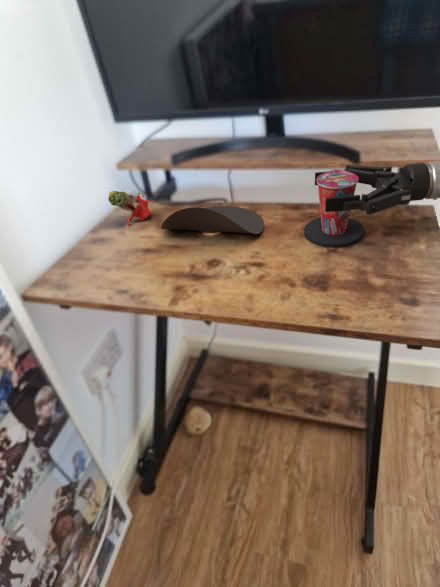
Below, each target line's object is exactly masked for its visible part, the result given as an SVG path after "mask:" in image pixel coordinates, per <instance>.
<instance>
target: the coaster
mask: <svg viewBox="0 0 440 587" xmlns="http://www.w3.org/2000/svg"><path fill="white" fill-rule="evenodd" d="M364 232H365V229H364V226H363V225H362V223H360V222H359V221H358V220H356V219H354V218H351V217H349V219H348V223H347V228H346V231H345V232H344V233H343V234H341V235H328V234H325V233H324V232H323V230H322V221H321V216H320V217H317V218H314V219H311V220H310V221H308V222H307V223H306V224H305V226H304V228H303V235H304V237H305V239H306V240H307V241H309V242H310V243H311V244H314V245H317V246H320V247H325V248H344V247H348V246H351V245H354V244H356V243H358V242H359V241H361V240H362V238H363V236H364V234H365V233H364Z"/></svg>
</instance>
